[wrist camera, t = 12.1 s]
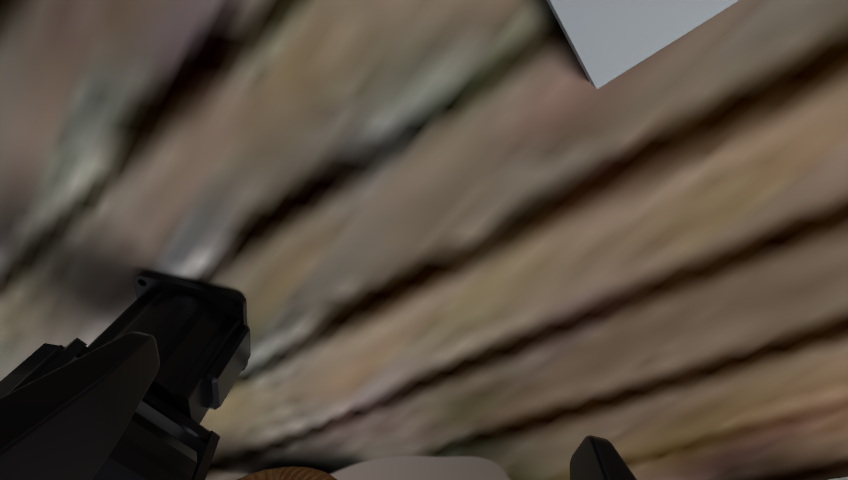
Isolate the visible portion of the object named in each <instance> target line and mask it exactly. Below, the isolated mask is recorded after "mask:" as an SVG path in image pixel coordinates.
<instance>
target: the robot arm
mask: <svg viewBox="0 0 848 480" xmlns="http://www.w3.org/2000/svg"><path fill="white" fill-rule="evenodd" d="M134 285H135V289H136V294H137V300H136V301H135V302H134V303H133V304H132V305H131V306H130V307H129V308H128V309H126V310H125V311H124V312H123V313H122V314H121V315H120V316H119V317H118V318H117V319H116V320H115V321H114V322H113V323H112V324H111V325H110V326H109V327H108V328H107V329H106V330H105V331H104V332H103V333H102V334H101V335H100V336H98V337H97V338H96V339H95V340H94V341H93V342H92V343H91V344H90V345H89V346H88V347H86V345H87V344H86V343H84V342H83V341H81V340H80V339H78V338H76V339H75V340H73V341H72V342H71V343H70V344H68V345H67V346H66V347H63V346H62V345H60V346H58V345H52V344H46V343H44V344H43V345H42V346H41V347H40V348H39V349H37V350H36V351H35V352H34V353H33V354H32V355H31V356H29V357H28V358H27V359H26V360H25V361H24V362H22V363H21V364H20V365H19V366H18V367H17V368H15V369H14V370H13V371H12V372H11V373H10V374H8V375H7V376H6V377H5V378H4V379H3V380H1V381H0V480H205V478H206V475H207V473H208V470H209V467H210V464H211V461H212V458H213V456H214V453H215V450H216V447H217V444H218V441H219V439H220V436H219V435H218V434H216V433H215V432H213V431H209V430H207V429H206V428H204V427H203V426H201V425H200V422H201V421H202V419H203V418H204V416H205V414H206V413H207V411H208V409H209V408H210V409H214V410H215V409H217V408H219V407H220V406H221V405H222V403H223V401H224V400H225V398H226V396H227V395H228V393H229V391H230V389H231V388H232V386H233V384H234V383H235V381H236V379H237V378H238V376H239V374H240V373H241V371H243V370H244V369H245V368H246V366H247V364H248V359H249V357H250V329H249V327H248V326H247V310H246V299H245V298H244V296H242V295H241V294H238V293H234V292H230V291H225V290H221V289H217V288H212V287H208V286H204V285H199V284H195V283H191V282H186V281H182V280H178V279H173V278H169V277H165V276H160V275H156V274H152V273H147V272H140V273H139V274H138V275H137V276H135V278H134ZM235 301H236V302H235ZM237 302H238V303H237ZM570 480H637V479H636V478H635V476H634V475H633V473H632V472H631V471H630V469H629V468H628V466H627V465H626V463H625V462H624V461H623V459H622V458H621V456H620V455H619V454H618V452H617V451H616V449H615V448H614V446H613V445H612V444H611V443H610V442H609V441H608V440H607V439H604V438H600V437H595V436H591V435H589V436H587V437H586V438H585V439H584V440H583V441H582V443H581V444H580V446H579V447H578V448H577V450H576V451H575V453H574V454H573V456H572V458H571V461H570Z"/></svg>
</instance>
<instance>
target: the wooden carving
mask: <svg viewBox="0 0 848 480" xmlns="http://www.w3.org/2000/svg"><path fill="white" fill-rule="evenodd" d="M238 480H337V479H335V478H334V477H332V476H331V475H330V474H328V473H326V472H323V471H321V470H317V469H313V468H308V467H297V466H291V467H279V468H273V469H265V470H262V471H259V472H257V473H256V472H255V473H252V474H249V475H247V476H245V477H242V478H240V479H238Z"/></svg>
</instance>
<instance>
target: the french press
mask: <svg viewBox="0 0 848 480" xmlns="http://www.w3.org/2000/svg"><path fill="white" fill-rule="evenodd" d="M828 480H848V477H843V478H835V479H828Z"/></svg>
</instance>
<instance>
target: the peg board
mask: <svg viewBox="0 0 848 480" xmlns="http://www.w3.org/2000/svg"><path fill="white" fill-rule="evenodd" d="M737 1H738V0H547V2H548V4H549V6H550V8H551V10H552V12H553V14H554V16H555V17H556V19H557V21H558V23H559V25H560V27H561V29H562V31H563V33H564V34H565V36H566V38H567V40H568V42H569V44H570V46H571V48H572V50H573V51H574V53H575V55H576V57H577V59H578V61H579V63H580V65H581V67H582V68H583V70H584V72H585V74H586V76H587V78H588V80H589V82H590V83H591V84H592V85H593V86H594V87H595V88H596V89H598V88H600V87H601V86H603V85H604V84H606V83H608V82H609V81H611V80H612V79H614V78H616V77H617V76H619V75H620V74H622V73H624V72H625V71H627V70H628V69H630V68H632V67H633V66H635V65H636V64H638V63H639V62H641V61H643V60H644V59H646V58H647V57H649V56H651V55H652V54H654V53H655V52H657V51H659V50H660V49H662V48H663V47H665V46H667V45H668V44H670V43H671V42H673V41H675V40H676V39H678V38H679V37H681V36H683V35H684V34H686V33H687V32H689V31H691V30H692V29H694V28H695V27H697V26H699V25H700V24H702V23H703V22H705V21H707V20H708V19H710V18H711V17H713V16H715V15H716V14H718V13H719V12H721V11H722V10H724V9H726V8H727V7H729V6H730V5H732V4H734V3H735V2H737Z"/></svg>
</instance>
